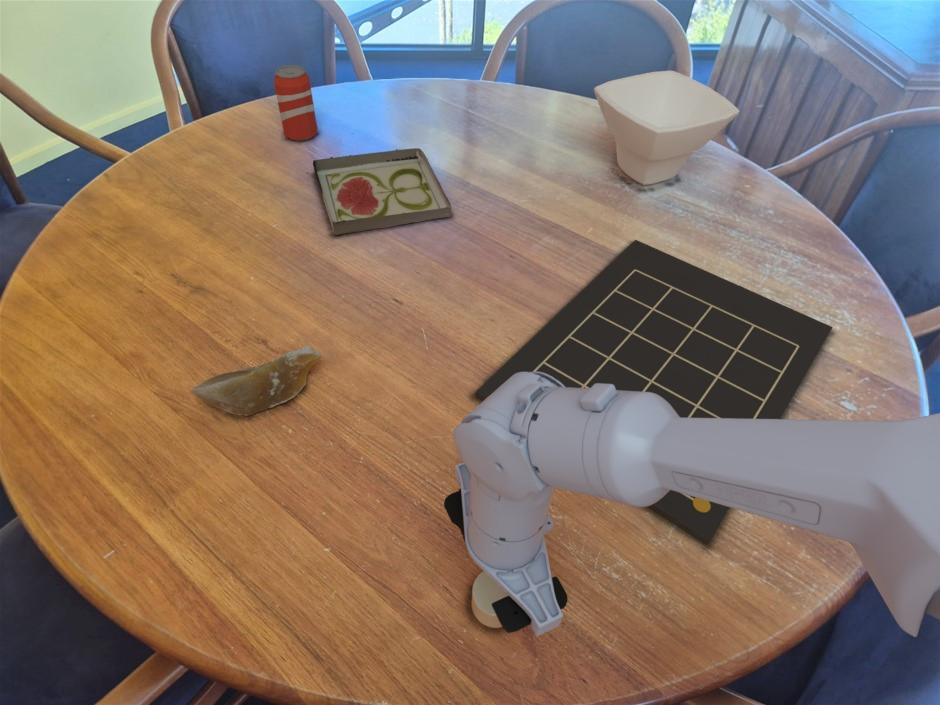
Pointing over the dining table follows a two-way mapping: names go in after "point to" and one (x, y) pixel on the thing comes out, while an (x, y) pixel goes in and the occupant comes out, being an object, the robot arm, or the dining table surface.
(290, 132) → the beverage can
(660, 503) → the board
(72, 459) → the dining table surface
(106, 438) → the dining table surface
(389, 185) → the decorative tile
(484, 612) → the cylinder
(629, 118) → the bowl
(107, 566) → the dining table surface
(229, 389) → the stone
